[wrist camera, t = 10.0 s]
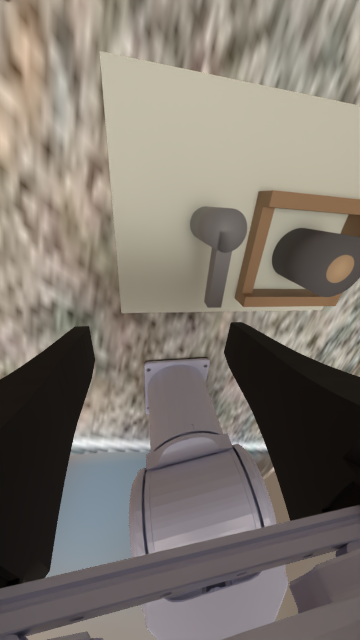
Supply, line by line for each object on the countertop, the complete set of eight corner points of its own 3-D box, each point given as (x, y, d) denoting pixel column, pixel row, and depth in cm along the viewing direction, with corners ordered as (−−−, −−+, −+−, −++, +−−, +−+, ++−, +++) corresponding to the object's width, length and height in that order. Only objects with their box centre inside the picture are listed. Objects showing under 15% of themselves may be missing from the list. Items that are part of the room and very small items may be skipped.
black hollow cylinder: (304, 277, 20) (348, 298, 16) (265, 275, 19) (301, 296, 15) (324, 230, 18) (383, 240, 14) (282, 224, 17) (330, 233, 13)
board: (314, 305, 24) (363, 334, 18) (122, 307, 20) (115, 345, 14) (396, 122, 16) (524, 83, 11) (103, 64, 12) (72, -47, 7)
